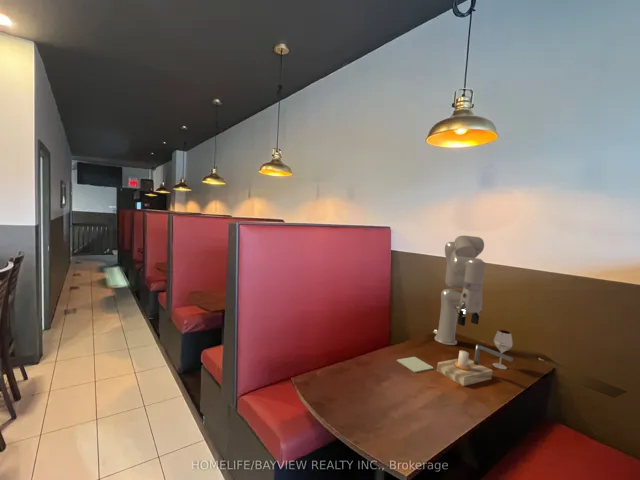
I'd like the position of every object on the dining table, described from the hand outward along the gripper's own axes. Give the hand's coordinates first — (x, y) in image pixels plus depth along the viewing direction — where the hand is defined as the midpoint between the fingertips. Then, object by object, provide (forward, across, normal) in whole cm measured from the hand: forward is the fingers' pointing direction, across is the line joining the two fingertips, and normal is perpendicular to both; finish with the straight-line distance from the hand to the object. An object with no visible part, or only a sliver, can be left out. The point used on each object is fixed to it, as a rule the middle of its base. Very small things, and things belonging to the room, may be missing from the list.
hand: (467, 324), depth 140 cm
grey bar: (+20, +11, -7) cm, 24 cm away
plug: (+24, 0, 0) cm, 24 cm away
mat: (+24, -14, +15) cm, 32 cm away
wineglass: (+24, +30, 0) cm, 39 cm away
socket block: (+24, +2, 0) cm, 24 cm away
